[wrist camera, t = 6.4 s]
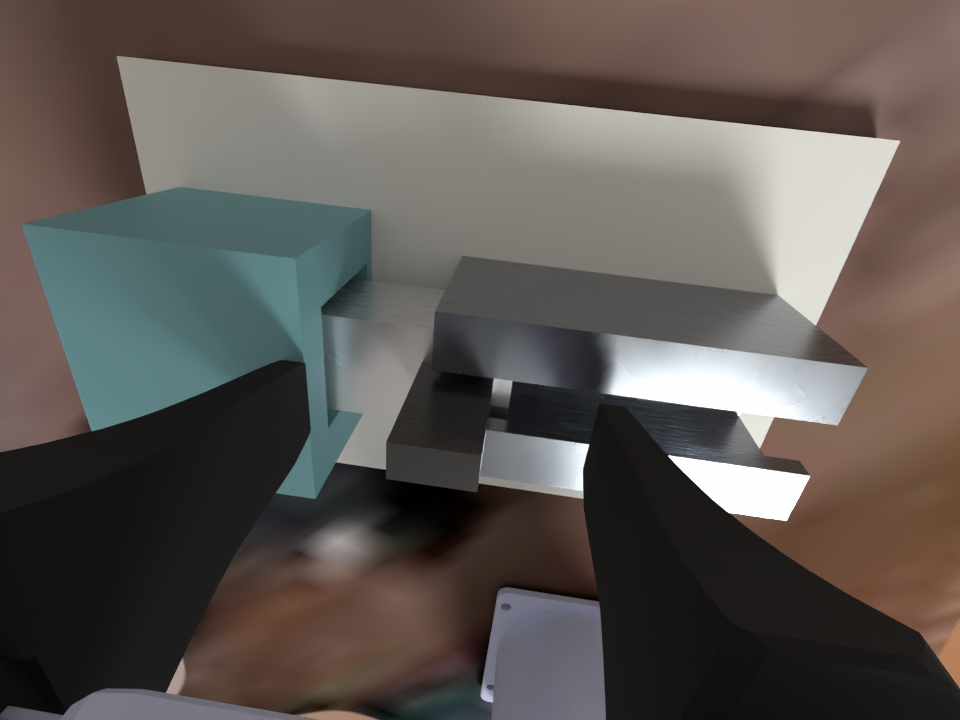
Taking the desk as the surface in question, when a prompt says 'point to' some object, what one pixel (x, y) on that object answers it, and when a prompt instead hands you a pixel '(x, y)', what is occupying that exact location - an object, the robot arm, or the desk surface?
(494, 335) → the grey rail guide
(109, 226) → the socket
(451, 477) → the bar
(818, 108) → the desk surface
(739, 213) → the base board
